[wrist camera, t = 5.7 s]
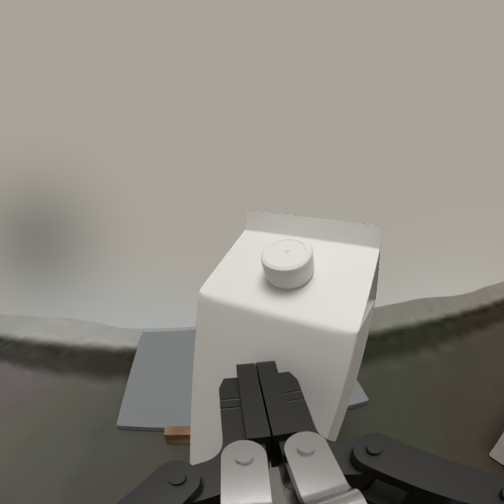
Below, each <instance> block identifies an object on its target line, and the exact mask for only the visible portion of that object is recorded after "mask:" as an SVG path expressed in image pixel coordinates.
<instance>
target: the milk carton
mask: <svg viewBox="0 0 504 504" xmlns="http://www.w3.org/2000/svg"><path fill="white" fill-rule="evenodd" d="M382 230H383V227H382V226H378V225H371V224H364V223H356V222H348V221H340V220H332V219H323V218H315V217H306V216H296V215H287V214H277V213H266V212H256V211H248V212H247V218H246V226H245V231H244V232H243V234H242V235H241V236H240V237H239V239H238V240H237V241H236V243H235V244H234V245H233V246H232V248H231V249H230V251H229V252H228V253H227V254H226V256H225V257H224V258H223V260H222V261H221V262H220V264H219V265H218V266H217V268H216V269H215V270H214V272H213V273H212V274H211V276H210V277H209V278H208V279H207V281H206V282H205V284H204V285H203V286H202V288H201V289H200V291H199V300H198V309H197V321H196V334H195V348H194V363H193V381H192V402H191V430H190V464H191V465H195V464H199V463H202V462H205V461H208V460H210V459H212V458H213V457H215V456H216V455H217V454H218V453H219V452H220V450H221V448H222V444H223V438H222V426H221V412H220V398H219V387H220V385H221V383H222V381H223V379H224V378H237V373H236V365H237V364H248V363H255V364H256V363H257V362H266V361H275V363H276V366H277V370H278V373H281V372H290V373H291V374H292V375H293V376H294V377H296V378H297V379H298V382H299V384H300V387H301V391H302V392H303V395H304V399H305V401H306V403H307V406H308V409H309V411H310V414H311V417H312V419H313V422H314V425H315V427H316V429H317V431H318V433H319V434H320V435H321V436H323V437H324V438H326V439H328V440H331V441H336V438H337V436H338V433H339V430H340V428H341V425H342V422H343V419H344V416H345V413H346V410H347V407H348V404H349V401H350V398H351V395H352V392H353V388H354V385H355V382H356V378H357V375H358V371H359V368H360V364H361V360H362V357H363V353H364V349H365V345H366V341H367V337H368V332H369V328H370V324H371V319H372V314H373V309H374V304H375V300H376V291H377V281H378V270H379V257H380V245H381V238H382ZM280 477H281V476H280V472H279V468H278V467H273V468H271V464H270V468H269V480H270V489H271V497H272V504H287V502H286V499H285V496H284V494H283V491H282V488H281V485H280Z"/></svg>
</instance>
